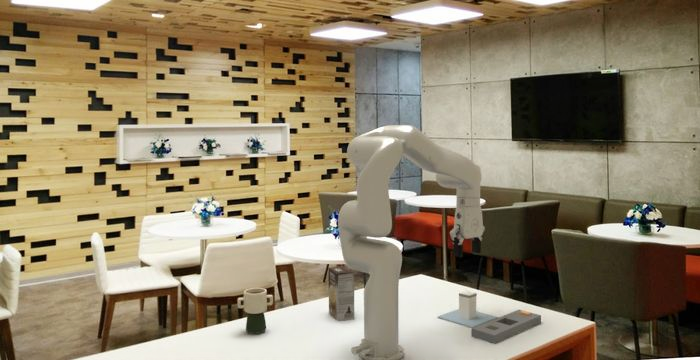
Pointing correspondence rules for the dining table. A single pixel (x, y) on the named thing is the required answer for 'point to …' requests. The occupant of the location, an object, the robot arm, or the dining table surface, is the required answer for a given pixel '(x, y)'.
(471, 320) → the slate mat
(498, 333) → the power strip
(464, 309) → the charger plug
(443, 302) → the dining table surface
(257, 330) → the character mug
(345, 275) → the coffee box
